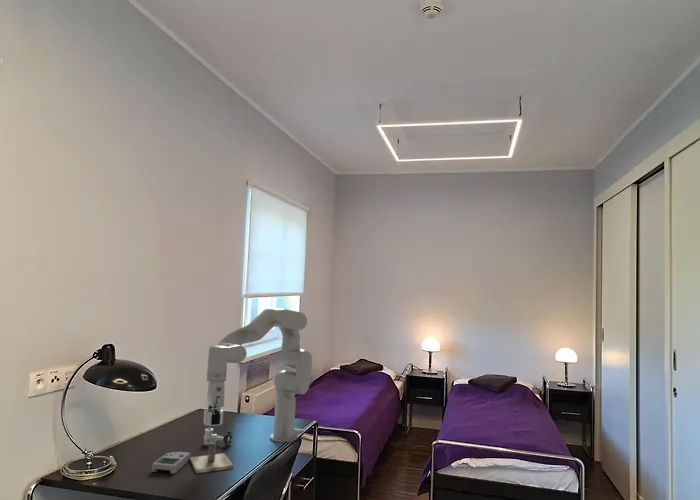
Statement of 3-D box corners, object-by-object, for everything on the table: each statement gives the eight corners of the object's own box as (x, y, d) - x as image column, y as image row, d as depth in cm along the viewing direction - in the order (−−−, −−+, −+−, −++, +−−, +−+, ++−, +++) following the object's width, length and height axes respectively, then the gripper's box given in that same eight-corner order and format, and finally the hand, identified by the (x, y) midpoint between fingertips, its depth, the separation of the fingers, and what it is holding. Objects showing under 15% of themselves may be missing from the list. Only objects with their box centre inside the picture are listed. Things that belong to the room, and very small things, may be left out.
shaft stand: (224, 456, 203) (225, 436, 204) (232, 468, 191) (234, 446, 192) (189, 460, 197) (191, 439, 197) (196, 473, 184) (197, 451, 185)
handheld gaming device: (190, 461, 197) (190, 451, 197) (173, 475, 182) (174, 465, 182) (168, 460, 198) (169, 450, 198) (151, 474, 183) (151, 463, 183)
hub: (219, 420, 199) (220, 407, 200) (223, 425, 193) (224, 412, 194) (202, 421, 196) (203, 409, 197) (206, 426, 190) (206, 413, 190)
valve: (200, 446, 214) (225, 449, 212) (201, 430, 215) (226, 433, 212) (207, 441, 221) (232, 444, 218) (208, 426, 221) (233, 429, 219)
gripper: (231, 380, 190) (228, 427, 189) (220, 372, 206) (217, 415, 204) (211, 381, 187) (208, 428, 185) (202, 373, 202) (199, 416, 201)
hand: (213, 421), depth 195 cm, fingers closed on hub, 7 cm apart
